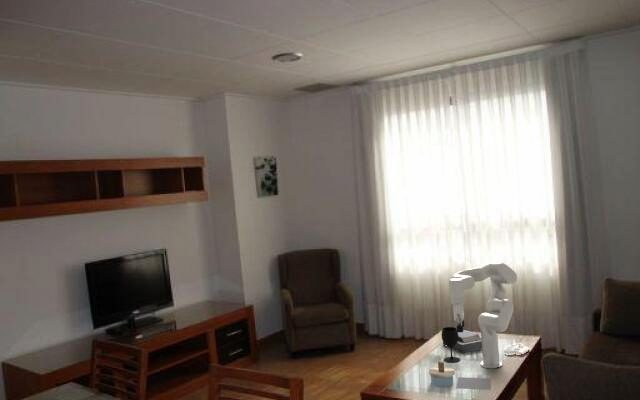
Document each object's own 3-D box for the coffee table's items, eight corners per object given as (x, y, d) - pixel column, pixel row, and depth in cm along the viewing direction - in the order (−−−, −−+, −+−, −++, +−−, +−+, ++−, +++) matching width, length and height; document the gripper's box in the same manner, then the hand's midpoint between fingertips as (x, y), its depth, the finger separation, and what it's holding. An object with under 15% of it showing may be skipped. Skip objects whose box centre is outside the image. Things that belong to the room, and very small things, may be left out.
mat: (458, 378, 303) (458, 377, 303) (491, 379, 297) (490, 378, 297) (456, 389, 288) (455, 388, 288) (490, 390, 282) (490, 389, 282)
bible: (455, 355, 342) (454, 340, 342) (440, 343, 369) (439, 329, 369) (489, 350, 345) (488, 336, 345) (472, 339, 372) (470, 325, 372)
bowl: (432, 379, 305) (432, 369, 304) (454, 380, 301) (453, 369, 301) (430, 387, 293) (429, 376, 293) (452, 388, 289) (451, 377, 289)
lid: (430, 368, 306) (429, 357, 306) (455, 369, 301) (454, 358, 301) (427, 377, 293) (426, 366, 292) (453, 378, 288) (452, 367, 288)
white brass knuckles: (519, 358, 327) (498, 354, 338) (533, 350, 338) (512, 346, 349) (519, 353, 327) (497, 349, 338) (533, 345, 338) (512, 341, 349)
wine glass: (442, 362, 330) (440, 331, 329) (444, 357, 340) (441, 326, 339) (460, 363, 327) (457, 331, 326) (460, 357, 337) (458, 326, 336)
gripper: (452, 296, 311) (455, 324, 311) (449, 304, 294) (452, 334, 295) (465, 295, 308) (468, 324, 309) (463, 304, 292) (466, 334, 293)
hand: (460, 329), depth 302 cm, fingers open, 9 cm apart
